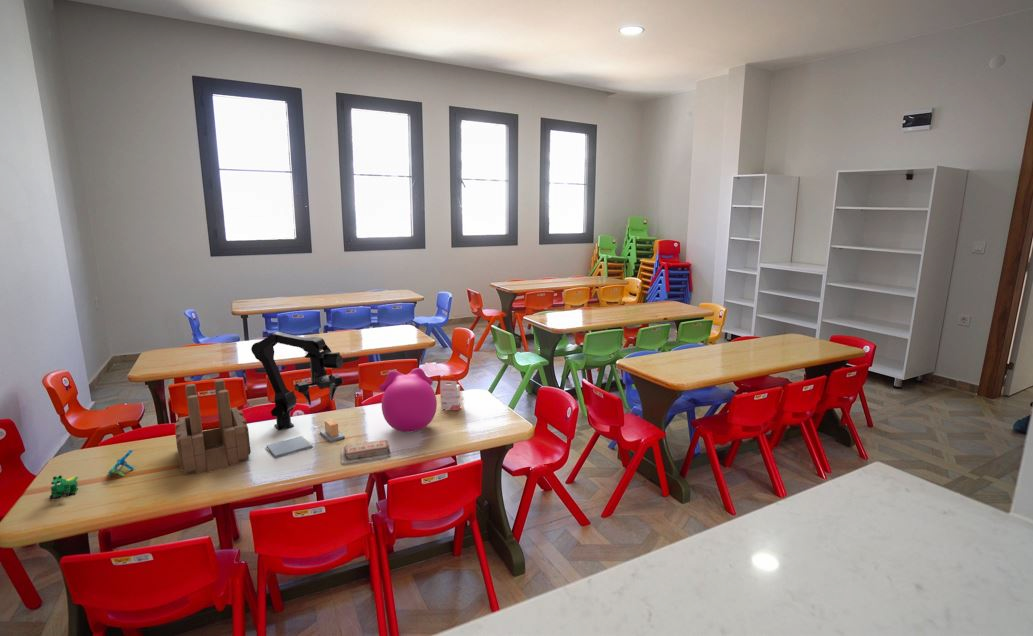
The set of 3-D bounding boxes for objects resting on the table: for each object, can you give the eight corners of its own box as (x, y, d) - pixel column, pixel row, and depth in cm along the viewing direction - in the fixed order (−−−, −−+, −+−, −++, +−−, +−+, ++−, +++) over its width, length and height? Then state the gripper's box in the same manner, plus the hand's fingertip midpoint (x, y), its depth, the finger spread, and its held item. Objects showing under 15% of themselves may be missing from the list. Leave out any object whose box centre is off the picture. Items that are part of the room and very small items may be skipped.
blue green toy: (118, 460, 193) (134, 443, 191) (133, 469, 195) (149, 452, 193) (99, 479, 182) (116, 460, 181) (114, 488, 184) (131, 470, 183)
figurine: (431, 415, 239) (429, 363, 234) (443, 435, 217) (441, 378, 212) (379, 422, 231) (376, 368, 226) (386, 444, 209) (382, 385, 204)
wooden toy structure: (181, 479, 182) (170, 405, 177) (178, 448, 207) (169, 383, 201) (253, 461, 195) (245, 392, 190) (242, 434, 219) (235, 373, 214)
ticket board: (266, 447, 207) (266, 445, 206) (302, 438, 215) (302, 435, 215) (275, 458, 198) (275, 455, 197) (312, 447, 206) (312, 444, 206)
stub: (319, 433, 220) (318, 419, 219) (333, 429, 224) (332, 416, 223) (330, 442, 211) (329, 428, 210) (344, 438, 215) (343, 424, 214)
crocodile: (64, 480, 182) (59, 457, 180) (84, 476, 185) (80, 453, 183) (47, 508, 165) (42, 482, 163) (71, 503, 168) (66, 478, 166)
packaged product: (387, 436, 206) (390, 446, 197) (388, 447, 207) (390, 458, 198) (340, 442, 200) (340, 453, 191) (341, 454, 201) (341, 466, 192)
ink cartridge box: (461, 407, 249) (460, 378, 246) (458, 411, 244) (457, 381, 241) (443, 406, 250) (442, 377, 247) (440, 410, 245) (439, 380, 242)
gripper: (301, 376, 207) (305, 413, 210) (346, 367, 219) (349, 402, 222) (292, 370, 216) (296, 405, 219) (336, 362, 228) (339, 395, 231)
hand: (320, 402), depth 222 cm, fingers open, 9 cm apart
